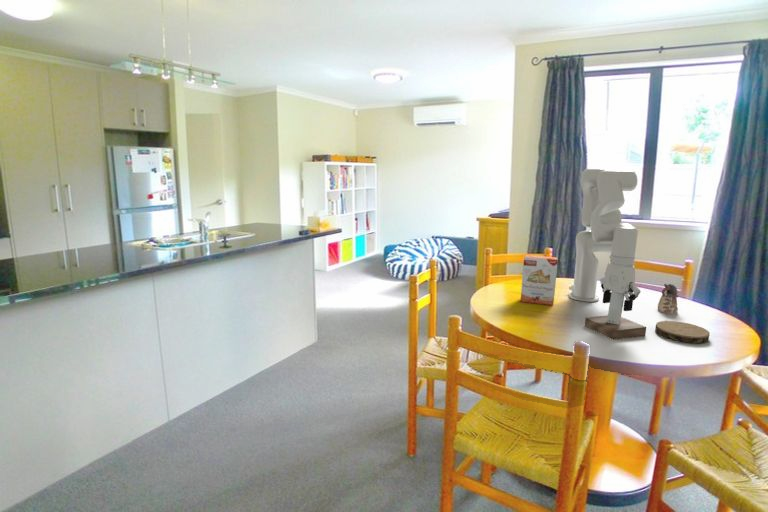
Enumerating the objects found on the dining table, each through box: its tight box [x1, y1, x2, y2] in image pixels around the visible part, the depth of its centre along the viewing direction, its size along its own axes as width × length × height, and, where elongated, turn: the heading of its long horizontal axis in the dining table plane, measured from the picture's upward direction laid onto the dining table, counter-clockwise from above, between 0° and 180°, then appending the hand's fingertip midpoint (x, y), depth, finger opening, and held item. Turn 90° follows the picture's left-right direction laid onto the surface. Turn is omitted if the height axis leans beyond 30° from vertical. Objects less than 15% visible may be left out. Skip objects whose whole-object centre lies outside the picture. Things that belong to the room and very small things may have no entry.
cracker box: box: [520, 254, 559, 306], centre depth 190 cm, size 14×6×21 cm, turn 68°
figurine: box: [657, 283, 680, 315], centre depth 180 cm, size 7×7×12 cm
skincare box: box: [607, 291, 625, 325], centre depth 156 cm, size 6×4×12 cm
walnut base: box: [584, 314, 647, 341], centre depth 157 cm, size 14×14×4 cm
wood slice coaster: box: [654, 320, 710, 345], centre depth 153 cm, size 16×16×3 cm
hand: (616, 306), depth 156 cm, fingers open, 9 cm apart
